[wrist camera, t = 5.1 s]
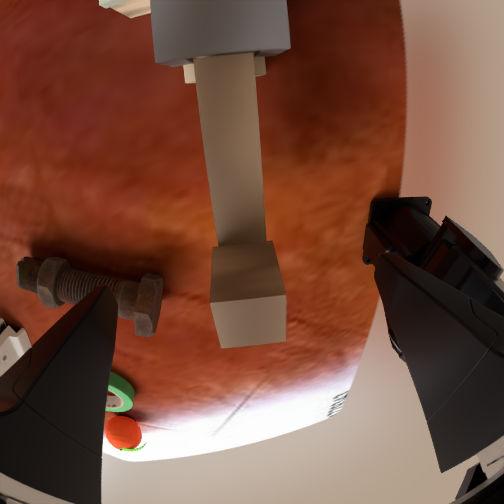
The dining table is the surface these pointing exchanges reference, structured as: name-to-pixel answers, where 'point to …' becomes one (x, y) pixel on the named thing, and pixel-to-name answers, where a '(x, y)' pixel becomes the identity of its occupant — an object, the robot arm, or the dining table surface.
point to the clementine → (123, 433)
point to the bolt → (81, 283)
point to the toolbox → (213, 29)
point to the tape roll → (119, 394)
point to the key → (238, 206)
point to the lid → (110, 2)
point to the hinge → (11, 345)
